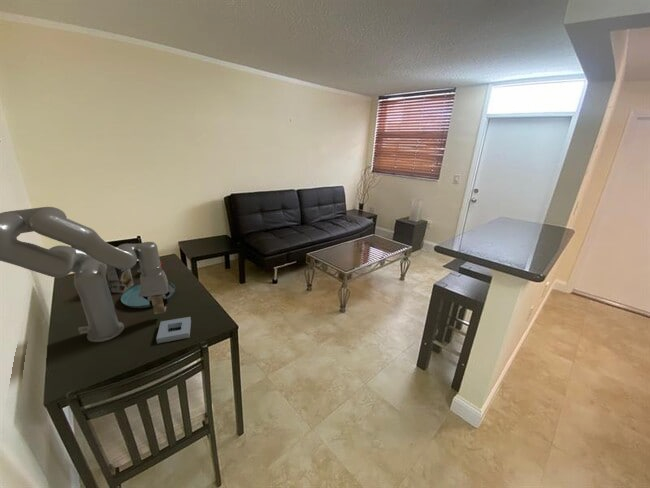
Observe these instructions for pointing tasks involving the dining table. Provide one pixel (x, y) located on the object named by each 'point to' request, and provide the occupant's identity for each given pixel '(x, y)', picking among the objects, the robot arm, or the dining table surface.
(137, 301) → the blue plate
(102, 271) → the robot arm
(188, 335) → the grey square-hole plate
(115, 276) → the coffee box
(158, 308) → the plug
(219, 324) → the dining table surface
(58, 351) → the dining table surface
